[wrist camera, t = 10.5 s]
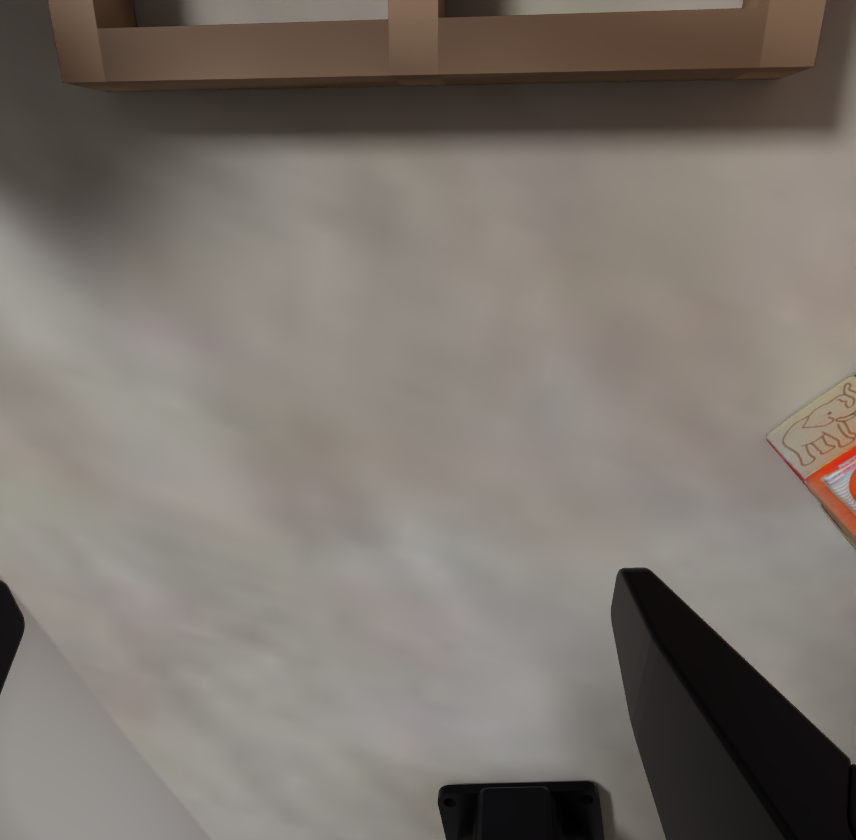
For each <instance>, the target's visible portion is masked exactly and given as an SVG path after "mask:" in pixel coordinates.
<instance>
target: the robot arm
mask: <svg viewBox="0 0 856 840" xmlns="http://www.w3.org/2000/svg"><path fill="white" fill-rule="evenodd" d="M611 621H612V627H613V632H614V638H615V643H616V648H617V653H618V659H619V664H620V669H621V674H622V680H623V685H624V690H625V695H626V701H627V706H628V711H629V716H630V720H631V725H632V728H633V732H634V736H635V739H636V743H637V746H638V749H639V752H640V756H641V759H642V762H643V765H644V769H645V772H646V775H647V778H648V782H649V785H650V788H651V791H652V795H653V798H654V801H655V804H656V807H657V811H658V814H659V817H660V820H661V824H662V827H663V830H664V833H665V837H666V840H856V764H852V765H851V761H850V758H849V757H848V756H847V755H845V754H844V753H843V752H842V751H841V750H840V749H839V748H838V747H837V746H836V745H835V744H834V743H833V742H832V741H831V740H830V739H829V738H827V737H826V736H825V735H824V734H823V733H822V732H821V731H820V730H819V729H818V728H817V727H816V726H815V725H814V724H813V723H812V722H811V721H810V720H808V719H807V718H806V717H805V716H804V715H803V714H802V713H801V712H800V711H799V710H798V709H797V708H796V707H795V706H794V705H793V704H792V703H791V702H789V701H788V700H787V699H786V698H785V697H784V696H783V695H782V694H781V693H780V692H779V691H778V690H777V689H776V688H775V687H774V686H773V685H772V684H770V683H769V682H768V681H767V680H766V679H765V678H764V677H763V676H762V675H761V674H760V673H759V672H758V671H757V670H756V669H755V668H754V667H752V666H751V665H750V664H749V663H748V662H747V661H746V660H745V659H744V658H743V657H742V656H741V655H740V654H739V653H738V652H737V651H736V650H735V649H733V648H732V647H731V646H730V645H729V644H728V643H727V642H726V641H725V640H724V639H723V638H722V637H721V636H720V635H719V634H718V633H717V632H716V631H714V630H713V629H712V628H711V627H710V626H709V625H708V624H707V623H706V622H705V621H704V620H703V619H702V618H701V617H700V616H699V615H698V614H696V613H695V612H694V611H693V610H692V609H691V608H690V607H689V606H688V605H687V604H686V603H685V602H684V601H683V600H682V599H681V598H680V597H679V596H677V595H676V594H675V593H674V592H673V591H672V590H671V589H670V588H669V587H668V586H667V585H666V584H665V583H664V582H663V581H662V580H661V579H660V578H658V577H657V576H656V575H655V574H654V573H653V572H652V571H651V570H649V569H647V568H622V569H620V570H619V572H618V574H617V577H616V583H615V588H614V594H613V599H612V605H611ZM24 625H25V623H24V617H23V614H22V612H21V611H20V609H19V607H18V605H17V603H16V601H15V599H14V597H13V595H12V593H11V591H10V589H9V587H8V586H7V584H6V583H4V582H3V581H1V580H0V694H1V691H2V688H3V686H4V683H5V680H6V678H7V675H8V673H9V670H10V667H11V665H12V662H13V660H14V657H15V654H16V652H17V649H18V646H19V644H20V641H21V639H22V636H23V632H24V627H25V626H24ZM438 806H439V810H440V815H441V819H442V823H443V827H444V832H445V836H446V840H604V833H603V824H602V816H601V808H600V799H599V792H598V789H597V787H596V786H595V785H594V784H593V783H590V782H585V781H582V782H545V783H508V784H471V785H446V786H443V787H442V788H440V790H439V794H438Z"/></svg>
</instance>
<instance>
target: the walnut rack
mask: <svg viewBox="0 0 856 840" xmlns="http://www.w3.org/2000/svg"><path fill="white" fill-rule="evenodd" d="M48 4H49V10H50V15H51V21H52V26H53V32H54V37H55V43H56V48H57V54H58V59H59V65H60V70H61V76H62V81H63V83H68V84H72V85H77V86H82V87H87V88H92V89H97V90H102V91H107V92H111V91H161V90H212V89H263V88H314V87H365V86H416V85H466V84H517V83H568V82H619V81H670V80H721V79H772V78H783V77H785V76H788V75H791V74H794V73H797V72H800V71H802V70H805V69H808V68H811V67H814V64H815V58H816V53H817V48H818V42H819V37H820V31H821V26H822V21H823V15H824V10H825V4H826V0H743V6H742V8H736V9H704V10H672V11H640V12H608V13H577V14H545V15H513V16H481V17H449V18H446V0H388V19H386V20H354V21H322V22H290V23H259V24H227V25H195V26H163V27H137V25H136V18H135V11H134V4H133V0H48Z"/></svg>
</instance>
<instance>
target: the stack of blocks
mask: <svg viewBox="0 0 856 840" xmlns="http://www.w3.org/2000/svg"><path fill="white" fill-rule="evenodd" d="M765 439H766V440H767V441H768V442H769V444H770V445H771V446H772V447H773V448H774V449H775V450H776V451H777V453H778V454H779V455H780V456H781V457H782V458H783V460H784V461H785V462H786V463H787V464H788V465H789V467H790V468H791V469H792V470H793V471H794V473H795V474H796V475H797V476H798V477H799V478H800V479H801V481H802V482H803V483H804V484H805V486H806V487H807V488H808V489H809V490H810V491H811V492H812V494H813V495H814V496H815V497H816V499H818V500H819V502H820V503H821V509H822V510H823V512H824V513H825V514H826V515H827V516H828V518H829V519H830V520H831V521H832V522H833V524H834V525H835V526H836V527H837V528H838V530H839V531H840V532H841V533H842V534H843V536H844V537H845V538H846V539H847V540H848V541H849V543H850V544H851V545H852V546H853V547H854V549H855V550H856V375H855V376H852V377H849V378H847V379H845V380H844V381H842V382H841V383H839V384H838V385H836V386H835V387H834V388H832V389H831V390H829V391H828V392H826V393H825V394H823V395H822V396H820V397H819V398H817V399H816V400H814V401H813V402H812V403H810V404H809V405H807V406H806V407H805V408H803V409H802V410H800V411H799V412H797V413H796V414H794V415H793V416H791V417H790V418H789V419H787V420H786V421H785V422H783V423H782V424H780V425H779V426H778V427H776V428H775V429H774V430H773V431H771V432H770V433H769V434H768V435H767V436H766V437H765Z"/></svg>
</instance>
